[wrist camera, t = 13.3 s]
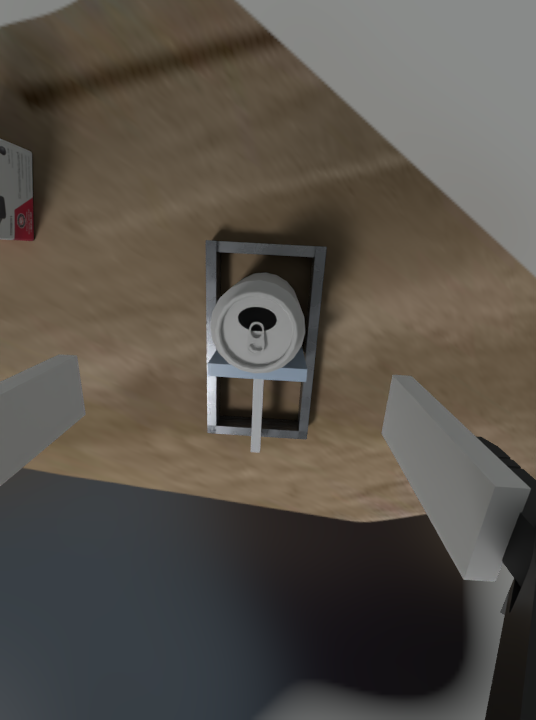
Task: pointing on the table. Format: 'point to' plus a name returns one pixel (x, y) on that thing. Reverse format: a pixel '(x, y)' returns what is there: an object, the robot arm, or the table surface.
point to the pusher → (259, 384)
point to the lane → (300, 426)
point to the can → (258, 324)
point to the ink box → (16, 193)
